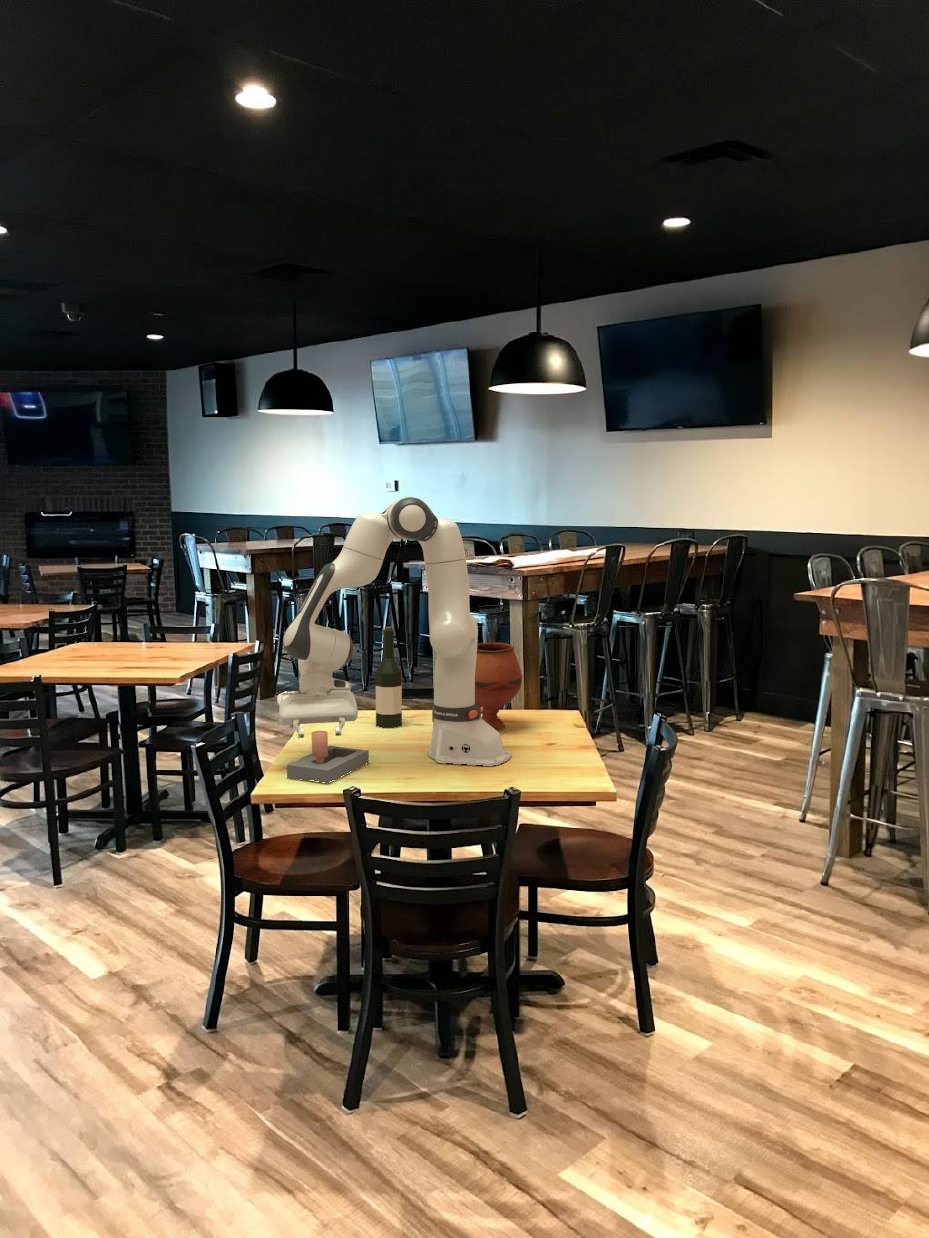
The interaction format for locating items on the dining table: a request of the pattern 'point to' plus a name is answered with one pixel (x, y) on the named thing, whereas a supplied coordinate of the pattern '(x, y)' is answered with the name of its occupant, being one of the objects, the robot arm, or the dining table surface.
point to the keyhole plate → (328, 764)
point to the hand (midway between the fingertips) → (319, 735)
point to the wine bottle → (388, 685)
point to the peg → (319, 745)
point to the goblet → (495, 680)
